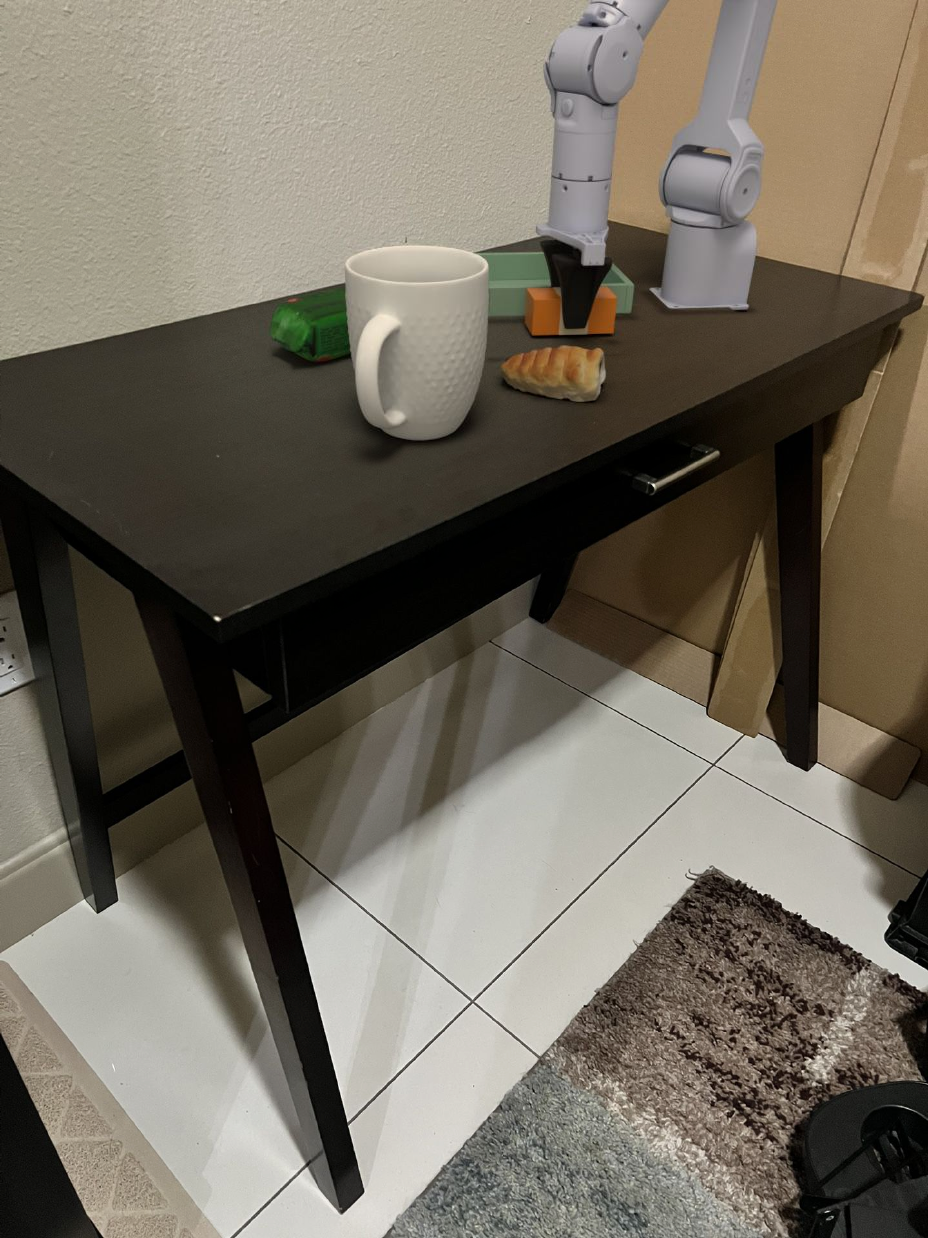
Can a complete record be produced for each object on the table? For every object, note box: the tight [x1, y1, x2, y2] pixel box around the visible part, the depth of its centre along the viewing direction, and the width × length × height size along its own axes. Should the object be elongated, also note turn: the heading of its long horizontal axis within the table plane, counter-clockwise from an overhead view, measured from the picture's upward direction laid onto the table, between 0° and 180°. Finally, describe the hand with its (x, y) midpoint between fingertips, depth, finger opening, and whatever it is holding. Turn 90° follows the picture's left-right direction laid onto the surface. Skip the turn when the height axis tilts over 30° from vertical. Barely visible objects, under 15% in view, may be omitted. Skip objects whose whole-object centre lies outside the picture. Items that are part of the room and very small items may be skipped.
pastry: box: [500, 344, 607, 403], centre depth 83 cm, size 9×7×4 cm
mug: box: [344, 244, 489, 441], centre depth 72 cm, size 15×11×13 cm
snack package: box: [269, 286, 351, 363], centre depth 91 cm, size 7×16×5 cm, turn 131°
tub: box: [473, 251, 635, 318], centre depth 106 cm, size 17×15×4 cm
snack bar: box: [524, 287, 617, 336], centre depth 94 cm, size 8×4×4 cm, turn 97°
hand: (569, 320), depth 95 cm, fingers closed on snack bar, 4 cm apart
